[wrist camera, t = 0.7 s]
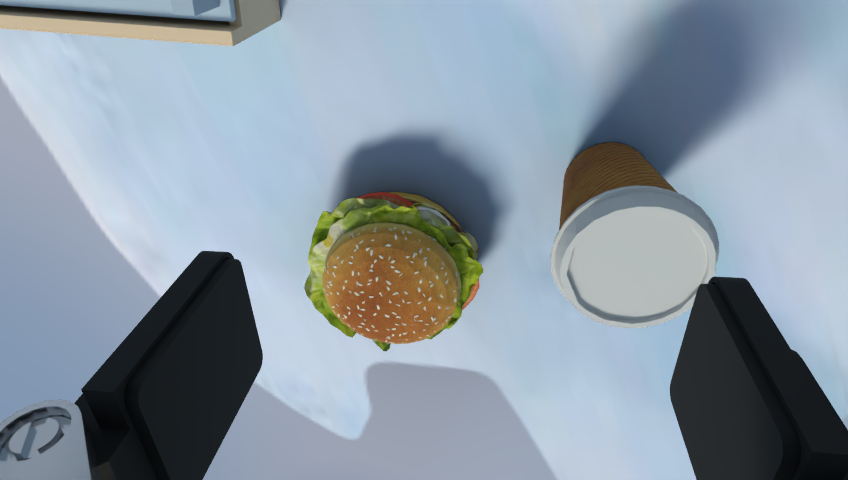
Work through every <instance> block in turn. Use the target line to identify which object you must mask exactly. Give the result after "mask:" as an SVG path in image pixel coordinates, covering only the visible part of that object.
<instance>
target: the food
mask: <svg viewBox="0 0 848 480" xmlns="http://www.w3.org/2000/svg"><path fill="white" fill-rule="evenodd" d="M478 249H479V248H478V246H477V243H476V241H475V238H474V237H473V236H472V235H470V234H469V233H463V231H462V229H461V227H460V225H459V223H458V222H457V221H456V220H455V219H454V218H453V217H452V216H451V215H450V214H449V213H448V212H447V211H446V210H445V209H444V208H442V207H441V206H440V205H438V204H436V203H434V202H432V201H430V200H428V199H427V198H425V197H423V196H421V195H415V194H409V193H402V192H388V193H387V192H377V193H368V194H365V195H363V196H360V197H357V198H351V199H346V200H344V201H342V202H341V203H340V204H339V205H338V206H337V208H336V209H335V210H334V211H333V213H330V212H327V211H323V213H322V214H321V216H320V218H319V221H318V224H317V227H316V229H315V231H314V234H313V237H312V244H311V248H310V252H309V258H308V264H309V265H310V268H311V271H310V275H309V277H308V278H307V280H306V283H305V287H304V288H305V291H306V294H307V296H308V297H309V298H310V299H311V301H312V302H313V304H314V306H315V308H316V309H317V310H318V311H319V312H320V313H322V314H323V315H324V316H325V317H326V319H327V320H328V321H329V322H330V324H331V325H333V326H335V327H336V328H338V329H339V330H341V331H342V332H343V333H344V334H345V335H347V336H350V337H353V336H354V335H355V333H358V334H360V335H362V336H364V337H367V338H370V339H372V340H373V341H374V342H375V343H376V344H377V345H378V346H379V347H380V348H381V349H382V350H383V351H387V350H388V349H389V348H390V344H391V343H392V344H402V343H412V342H416V341H421V340H424V339H426V338H428V339H432V338H433V337H435V336H436V335H438V334H439V333H440V332H442V331H443V330H444V329H446V328H447V329H449V328H451V327H452V326H453V325H454V324H455V323H456V322H457V320H458V319H459V318H460V316H461V313H462V310H463V309H464V308H465V307H467V305H468V304H469V303H470V302H471V301H472V300H473V298H474V297H475V295H476V293H477V291H478V289H479V276H480V275H481V274H482V273H483V268H482V266H481V264H480V263H479V262H477V256H478Z"/></svg>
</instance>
